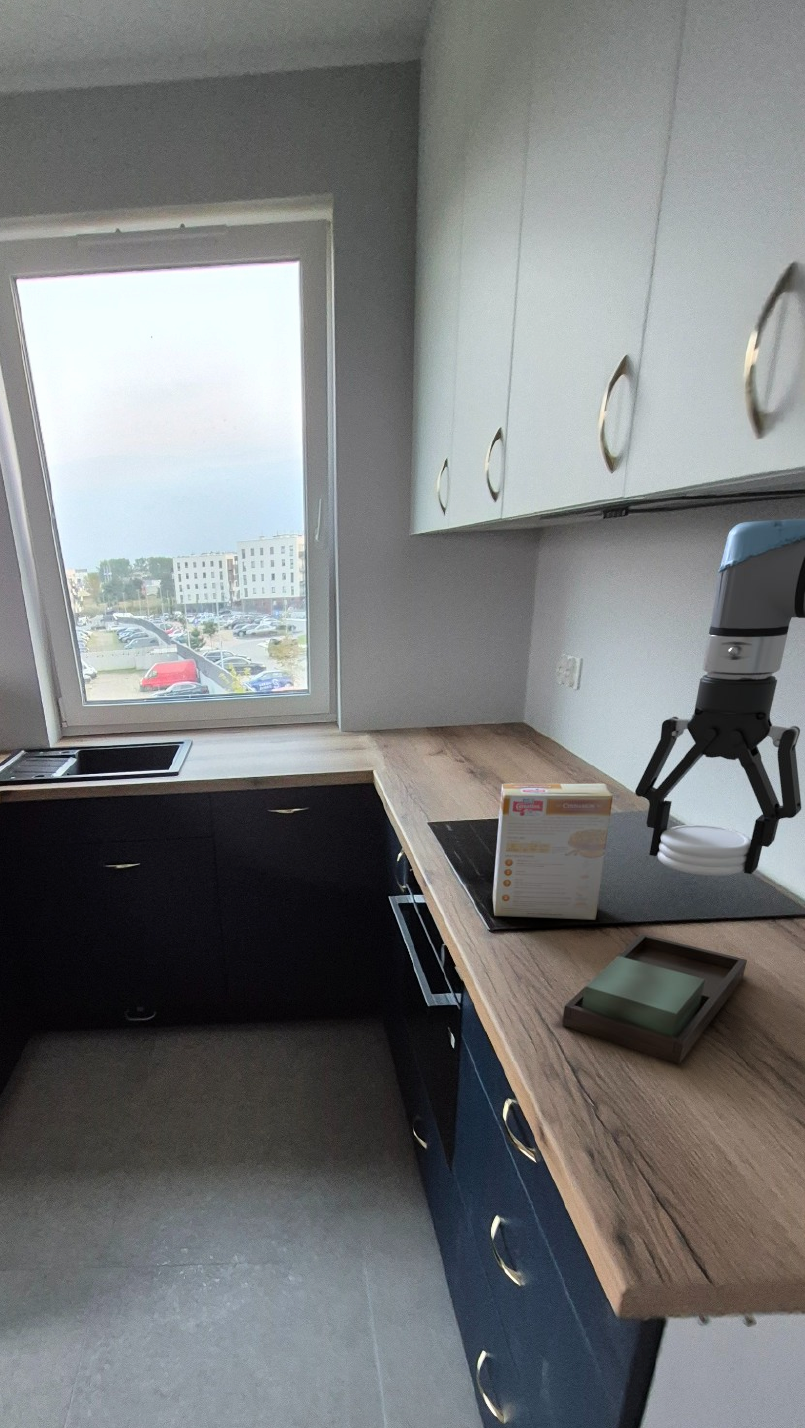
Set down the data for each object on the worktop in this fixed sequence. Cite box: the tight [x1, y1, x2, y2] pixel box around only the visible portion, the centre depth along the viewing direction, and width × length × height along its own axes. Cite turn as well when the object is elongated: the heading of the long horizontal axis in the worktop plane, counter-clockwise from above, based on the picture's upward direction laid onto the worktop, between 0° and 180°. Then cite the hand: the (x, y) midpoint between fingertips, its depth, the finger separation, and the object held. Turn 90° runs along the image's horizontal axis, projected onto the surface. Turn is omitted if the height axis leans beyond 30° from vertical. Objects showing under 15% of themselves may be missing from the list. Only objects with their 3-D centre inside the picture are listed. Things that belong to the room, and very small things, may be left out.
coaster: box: [656, 824, 752, 877], centre depth 98 cm, size 10×10×4 cm
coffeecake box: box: [492, 783, 614, 921], centre depth 121 cm, size 15×7×20 cm, turn 77°
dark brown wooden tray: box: [561, 933, 748, 1065], centre depth 98 cm, size 13×25×5 cm, turn 137°
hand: (701, 861), depth 99 cm, fingers closed on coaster, 10 cm apart
